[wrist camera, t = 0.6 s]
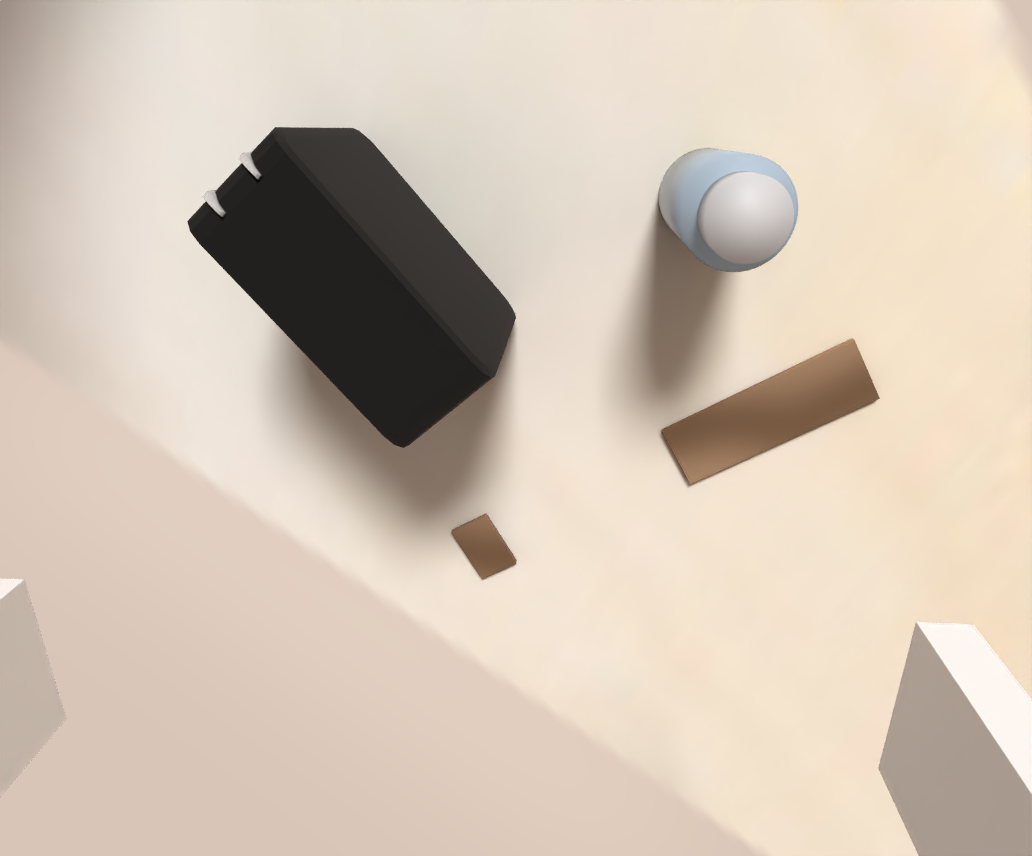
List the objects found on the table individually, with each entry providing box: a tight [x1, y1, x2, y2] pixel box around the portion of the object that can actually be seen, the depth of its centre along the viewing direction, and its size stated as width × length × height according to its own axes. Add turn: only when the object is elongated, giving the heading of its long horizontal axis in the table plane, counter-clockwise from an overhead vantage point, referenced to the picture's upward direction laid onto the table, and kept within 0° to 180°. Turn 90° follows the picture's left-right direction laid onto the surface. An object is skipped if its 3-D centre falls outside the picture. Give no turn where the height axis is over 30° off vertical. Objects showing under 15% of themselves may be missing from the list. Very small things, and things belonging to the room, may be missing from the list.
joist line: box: [451, 339, 880, 579], centre depth 35 cm, size 3×20×1 cm, turn 120°
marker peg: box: [659, 148, 798, 272], centre depth 26 cm, size 4×4×9 cm
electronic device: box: [187, 127, 516, 448], centre depth 28 cm, size 4×10×10 cm, turn 41°
